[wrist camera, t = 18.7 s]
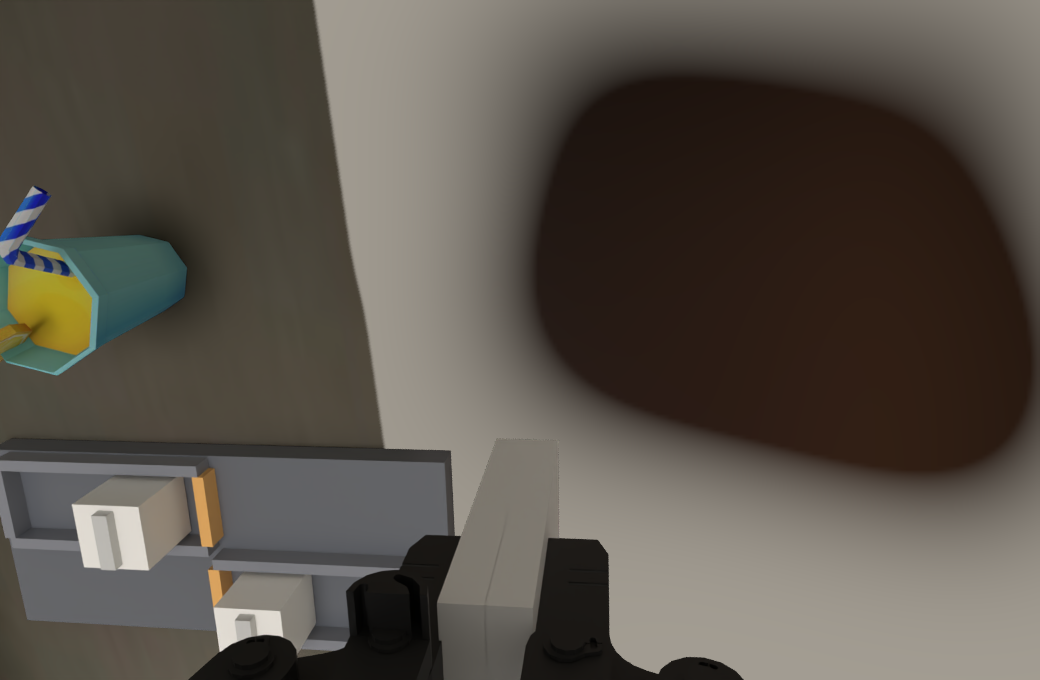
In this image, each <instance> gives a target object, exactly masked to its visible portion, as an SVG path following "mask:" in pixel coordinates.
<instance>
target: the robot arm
mask: <svg viewBox="0 0 1040 680" xmlns="http://www.w3.org/2000/svg"><path fill="white" fill-rule="evenodd" d="M558 447H559V443H558V440H531V439H496V442H495V445H494V447H493V450H492V453H491V456H490V458H489V461H488V464H487V466H486V469H485V472H484V475H483V478H482V481H481V483H480V486H479V488H478V491H477V494H476V497H475V499H474V502H473V505H472V508H471V511H470V514H469V516H468V519H467V521H466V525H465V527H464V530H463V532H462V535H461V536H446V535H425V536H424V537H422V538H421V539H420V540H419V541H417V542H416V543H415V544H414V545H412V546H411V547H410V548H409V550H408V552H407V554H406V556H405V558H404V560H403V562H402V566H401V567H400V569H399V570H386V571H379V572H376V573H372V574H369V575H366V576H364V577H363V578H361V579H359V580H357V581H355V582H354V583H353V584H352V585H351V586H350V587H349V588H348V589H347V591H346V599H347V609H348V620H349V631H350V637H349V639H348V641H347V643H346V645H345V647H344V648H342V649H339V650H336V651H332V652H328V653H324V654H318V655H312V656H306V657H300V658H297V650H296V648H295V647H294V645H293V644H292V642H291V641H289V640H287V639H285V638H283V637H281V636H275V635H260V636H254V637H248V638H245V639H243V640H240V641H238V642H235V643H233V644H231V645H229V646H228V647H226V648H225V649H224V650H222V651H221V652H219V653H218V654H217V655H216V656H214V657H213V658H212V659H211V660H210V661H209V662H208V663H207V664H205V665H204V666H203V667H202V668H201V669H200V670H199V671H198V672H196V673H195V674H194V675H193V676H192V677H191V678H190V679H189V680H743V679H742V678H741V676H740V675H739V674H738V673H737V672H736V671H735V670H733V669H731V668H730V667H728V666H726V665H724V664H723V663H721V662H717V661H714V660H711V659H707V658H701V657H699V658H698V657H686V658H681V659H678V660H674V661H671V662H670V663H669V664H667V665H666V666H664V667H663V668H662V669H661V670H660V672H659V674H656V673H653V672H649V671H646V670H644V669H641V668H639V667H636V666H634V665H632V664H631V663H629V662H627V661H626V660H624V659H623V658H622V657H621V656H620V655H619V654H618V653H617V652H616V651H615V649H614V647H613V646H612V644H611V641H610V636H609V567H608V566H609V565H608V553H607V552H606V550H605V549H604V548H603V546H602V545H601V544H600V542H599V541H598V540H587V539H565V538H559V454H558V453H559V452H558V451H559V448H558Z"/></svg>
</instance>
